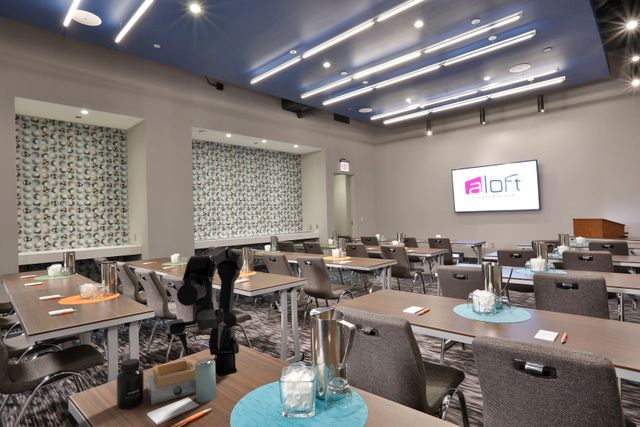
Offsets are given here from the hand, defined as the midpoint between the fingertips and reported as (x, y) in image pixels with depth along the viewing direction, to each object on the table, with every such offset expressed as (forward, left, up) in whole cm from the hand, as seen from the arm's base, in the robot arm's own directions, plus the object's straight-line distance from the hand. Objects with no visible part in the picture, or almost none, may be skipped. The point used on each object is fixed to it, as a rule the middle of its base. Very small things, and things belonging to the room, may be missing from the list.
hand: (203, 352), depth 103 cm
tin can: (0, 0, -13) cm, 13 cm away
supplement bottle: (+19, -9, -13) cm, 25 cm away
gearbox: (+7, -11, -13) cm, 18 cm away
